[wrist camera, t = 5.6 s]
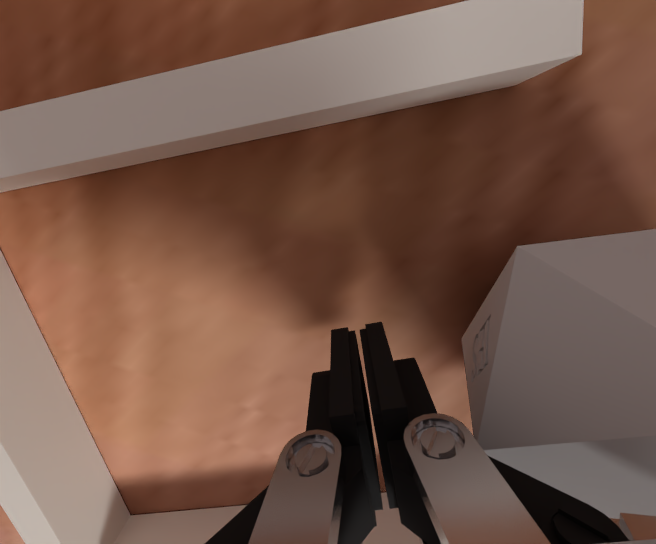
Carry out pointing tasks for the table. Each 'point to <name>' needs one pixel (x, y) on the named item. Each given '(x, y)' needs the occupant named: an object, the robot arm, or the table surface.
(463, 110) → the table surface
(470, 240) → the table surface
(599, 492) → the die
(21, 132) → the bay
